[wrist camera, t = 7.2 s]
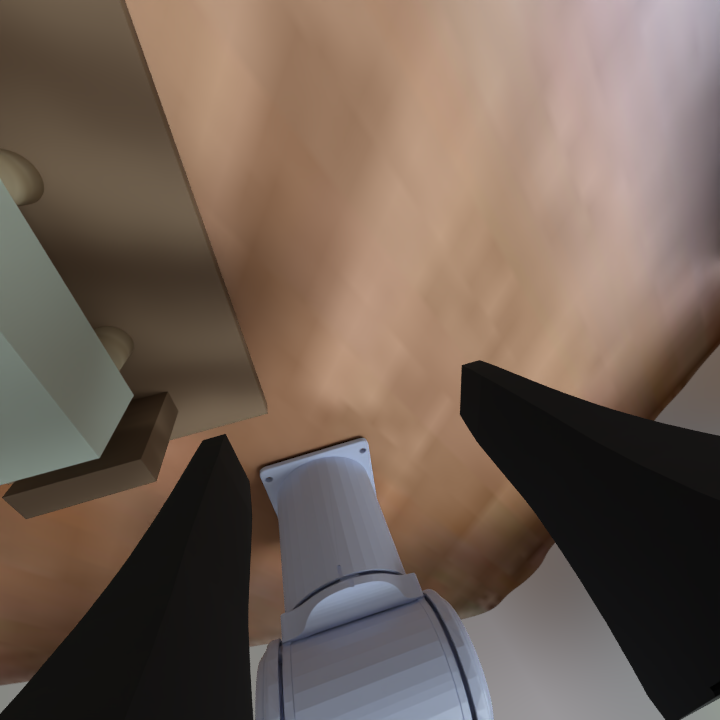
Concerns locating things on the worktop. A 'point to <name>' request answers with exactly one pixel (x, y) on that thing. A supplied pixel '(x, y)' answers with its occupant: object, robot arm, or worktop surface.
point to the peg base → (117, 237)
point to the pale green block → (48, 363)
